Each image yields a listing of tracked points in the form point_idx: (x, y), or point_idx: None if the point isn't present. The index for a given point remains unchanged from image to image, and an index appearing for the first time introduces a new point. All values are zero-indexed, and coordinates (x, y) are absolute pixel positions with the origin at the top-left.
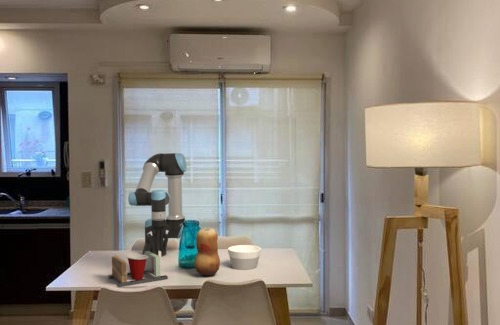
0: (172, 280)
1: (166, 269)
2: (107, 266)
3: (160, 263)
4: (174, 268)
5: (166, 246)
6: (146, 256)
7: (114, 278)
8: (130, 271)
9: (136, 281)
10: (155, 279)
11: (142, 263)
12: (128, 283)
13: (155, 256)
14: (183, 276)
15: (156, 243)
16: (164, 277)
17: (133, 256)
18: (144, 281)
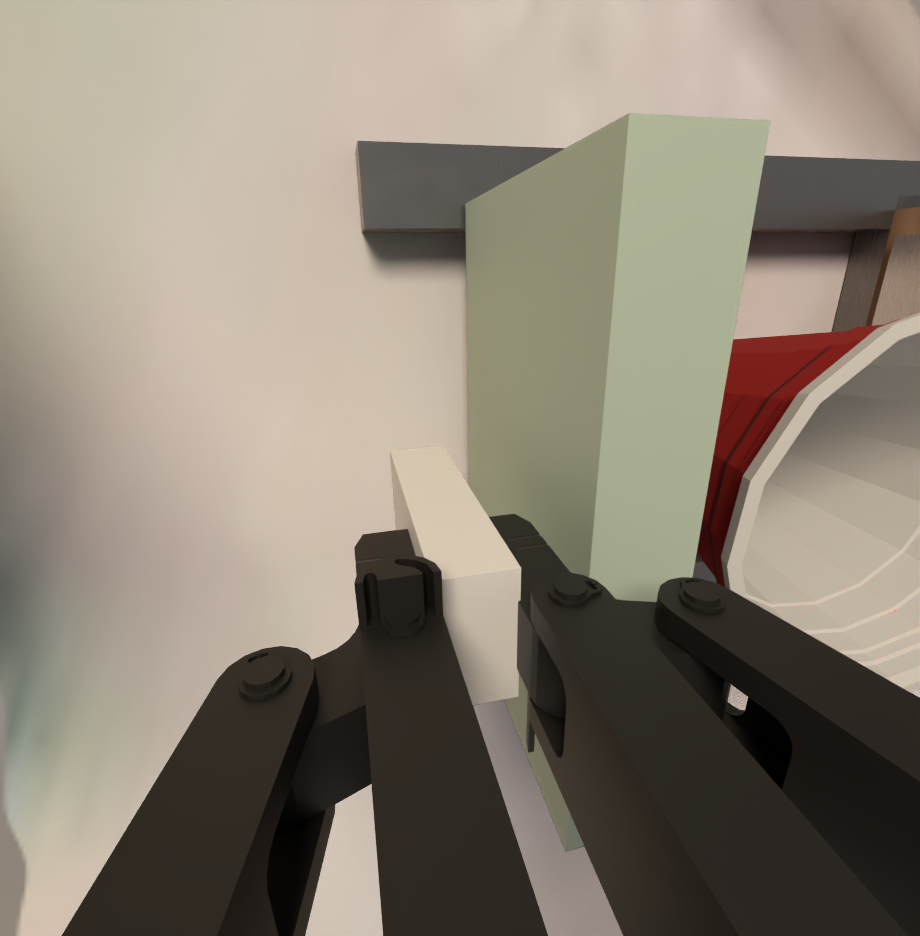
0: (307, 9)
1: (222, 639)
2: None
3: (407, 449)
4: (99, 648)
5: (179, 753)
6: (748, 531)
7: None
8: (808, 431)
9: (811, 157)
10: (554, 151)
11: (830, 337)
12: (889, 162)
13: (721, 244)
14: (44, 142)
15: (815, 830)
16: (412, 144)
17: (866, 655)
18: None
